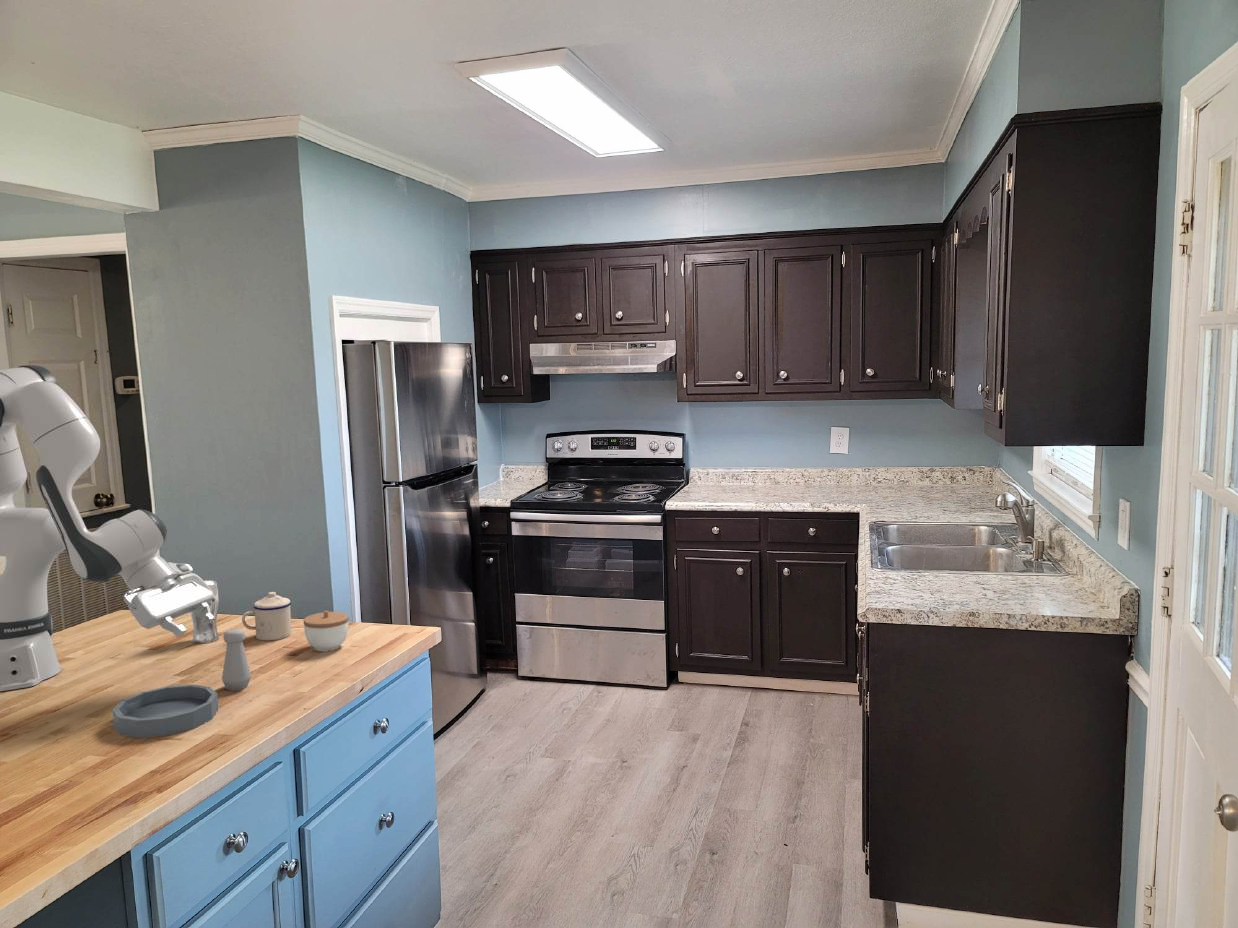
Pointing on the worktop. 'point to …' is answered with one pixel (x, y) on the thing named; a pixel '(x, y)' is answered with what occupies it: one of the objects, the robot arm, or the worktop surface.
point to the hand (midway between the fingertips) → (197, 627)
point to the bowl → (165, 711)
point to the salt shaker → (235, 661)
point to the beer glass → (202, 630)
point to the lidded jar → (326, 630)
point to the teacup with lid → (271, 618)
